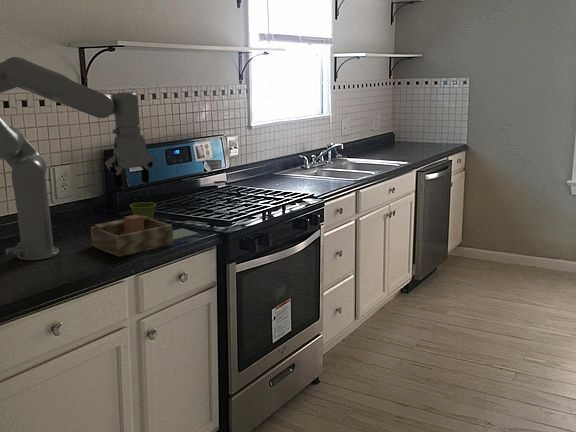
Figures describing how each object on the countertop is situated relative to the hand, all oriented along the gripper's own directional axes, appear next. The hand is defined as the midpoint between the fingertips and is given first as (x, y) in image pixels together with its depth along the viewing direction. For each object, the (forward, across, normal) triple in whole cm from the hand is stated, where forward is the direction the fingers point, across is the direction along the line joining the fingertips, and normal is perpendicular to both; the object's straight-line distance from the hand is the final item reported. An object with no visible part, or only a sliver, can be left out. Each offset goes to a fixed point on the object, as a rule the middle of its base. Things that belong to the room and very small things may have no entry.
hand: (132, 184), depth 212 cm
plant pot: (+21, +14, +19) cm, 32 cm away
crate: (+20, -1, +1) cm, 21 cm away
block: (+16, -1, -1) cm, 17 cm away
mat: (+20, +17, +1) cm, 27 cm away
